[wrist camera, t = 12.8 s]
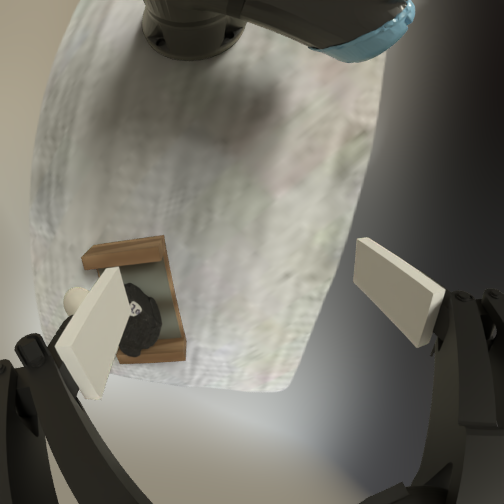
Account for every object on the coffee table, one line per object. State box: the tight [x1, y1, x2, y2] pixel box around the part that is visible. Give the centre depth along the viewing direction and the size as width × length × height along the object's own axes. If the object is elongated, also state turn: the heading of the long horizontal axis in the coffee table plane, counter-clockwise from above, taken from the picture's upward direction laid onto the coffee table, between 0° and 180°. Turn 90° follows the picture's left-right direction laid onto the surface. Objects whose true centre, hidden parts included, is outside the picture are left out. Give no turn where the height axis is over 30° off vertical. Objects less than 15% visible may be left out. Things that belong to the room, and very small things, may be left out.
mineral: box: [119, 283, 162, 357], centre depth 39 cm, size 10×9×6 cm
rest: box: [81, 235, 187, 364], centre depth 40 cm, size 20×12×5 cm, turn 4°
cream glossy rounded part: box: [64, 287, 90, 316], centre depth 42 cm, size 8×8×1 cm
